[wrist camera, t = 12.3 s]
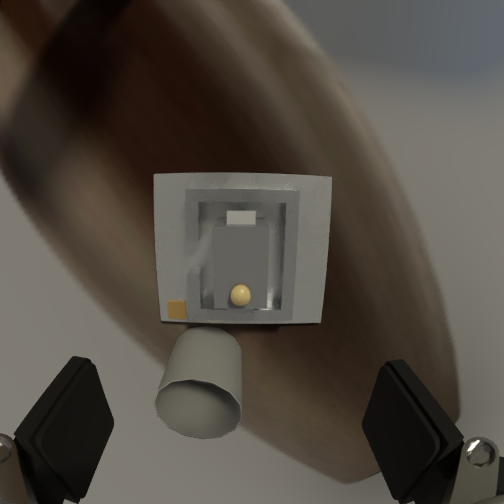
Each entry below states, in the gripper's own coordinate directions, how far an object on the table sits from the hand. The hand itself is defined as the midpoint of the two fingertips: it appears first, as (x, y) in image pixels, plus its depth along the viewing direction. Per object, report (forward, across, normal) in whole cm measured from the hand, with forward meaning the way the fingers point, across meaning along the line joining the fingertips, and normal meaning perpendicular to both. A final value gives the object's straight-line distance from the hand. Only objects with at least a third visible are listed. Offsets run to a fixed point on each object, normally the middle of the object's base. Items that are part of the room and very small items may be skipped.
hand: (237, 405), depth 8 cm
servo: (+22, 0, +1) cm, 22 cm away
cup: (+23, +4, +14) cm, 27 cm away
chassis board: (+23, 0, +1) cm, 23 cm away
